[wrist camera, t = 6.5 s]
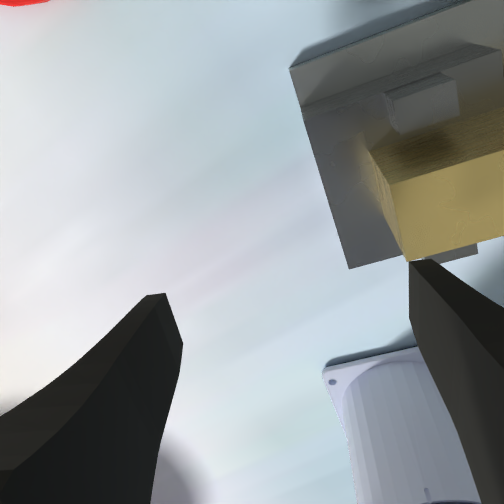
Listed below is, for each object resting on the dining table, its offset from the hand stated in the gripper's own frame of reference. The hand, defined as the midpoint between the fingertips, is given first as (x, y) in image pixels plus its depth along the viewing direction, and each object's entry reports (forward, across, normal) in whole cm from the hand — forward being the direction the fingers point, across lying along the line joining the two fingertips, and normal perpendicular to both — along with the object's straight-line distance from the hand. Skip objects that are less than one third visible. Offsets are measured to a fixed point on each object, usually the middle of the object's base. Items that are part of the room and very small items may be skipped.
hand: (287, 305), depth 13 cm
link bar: (+6, -8, -1) cm, 10 cm away
